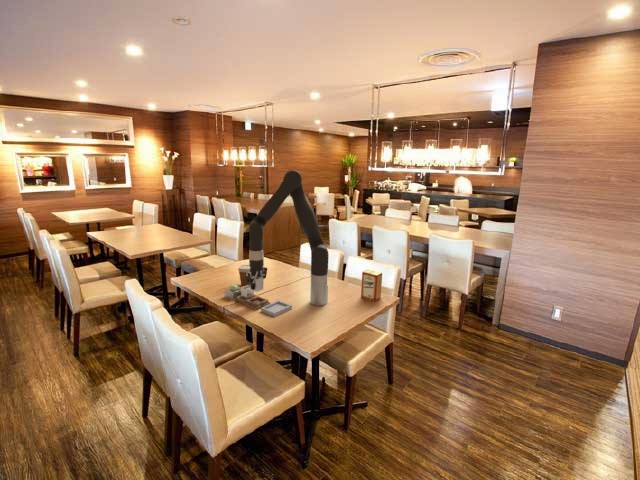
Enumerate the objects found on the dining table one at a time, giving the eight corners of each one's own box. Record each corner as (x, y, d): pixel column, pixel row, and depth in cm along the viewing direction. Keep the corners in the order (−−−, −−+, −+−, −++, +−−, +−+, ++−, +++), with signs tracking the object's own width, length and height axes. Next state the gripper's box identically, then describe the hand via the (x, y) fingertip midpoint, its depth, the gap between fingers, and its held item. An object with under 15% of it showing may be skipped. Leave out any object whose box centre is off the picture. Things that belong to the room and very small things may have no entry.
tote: (278, 303, 181) (278, 300, 180) (292, 308, 175) (292, 305, 175) (261, 311, 171) (261, 307, 170) (274, 316, 165) (274, 313, 164)
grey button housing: (235, 293, 194) (235, 286, 193) (244, 296, 190) (244, 289, 189) (224, 297, 188) (224, 289, 187) (233, 300, 183) (233, 293, 182)
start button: (235, 290, 191) (234, 284, 190) (238, 292, 189) (238, 285, 188) (230, 292, 188) (230, 286, 187) (234, 294, 186) (233, 287, 185)
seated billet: (248, 296, 187) (247, 284, 185) (253, 298, 184) (253, 286, 182) (241, 299, 183) (240, 287, 181) (247, 301, 180) (246, 289, 178)
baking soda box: (380, 298, 192) (382, 272, 189) (375, 301, 187) (377, 274, 184) (366, 293, 198) (368, 268, 194) (361, 297, 193) (362, 271, 189)
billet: (257, 287, 181) (257, 274, 179) (263, 289, 178) (263, 276, 176) (250, 289, 177) (250, 277, 175) (256, 291, 174) (256, 279, 172)
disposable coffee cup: (236, 284, 208) (235, 266, 206) (249, 281, 214) (249, 263, 212) (242, 288, 201) (242, 270, 199) (256, 285, 207) (256, 267, 205)
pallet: (248, 295, 191) (248, 291, 190) (270, 304, 180) (270, 299, 179) (234, 301, 183) (234, 296, 182) (256, 310, 172) (256, 305, 172)
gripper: (261, 254, 181) (261, 283, 185) (241, 259, 170) (241, 290, 174) (271, 256, 177) (271, 286, 180) (250, 262, 165) (251, 293, 169)
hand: (256, 287), depth 177 cm, fingers closed on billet, 5 cm apart
